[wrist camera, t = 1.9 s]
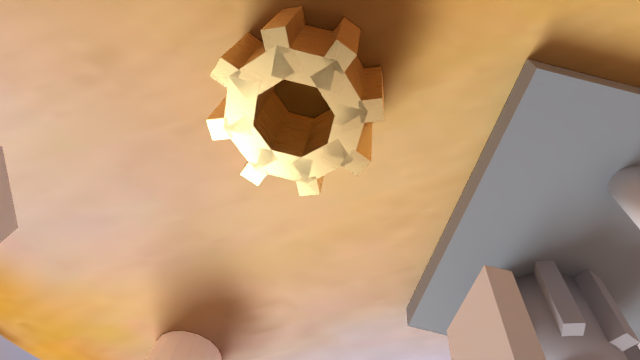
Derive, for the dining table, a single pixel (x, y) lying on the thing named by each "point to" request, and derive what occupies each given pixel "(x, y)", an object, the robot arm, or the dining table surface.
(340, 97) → the brass gear
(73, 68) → the dining table surface
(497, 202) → the gear board
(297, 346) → the dining table surface
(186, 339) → the beige cup
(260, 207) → the dining table surface
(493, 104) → the dining table surface
